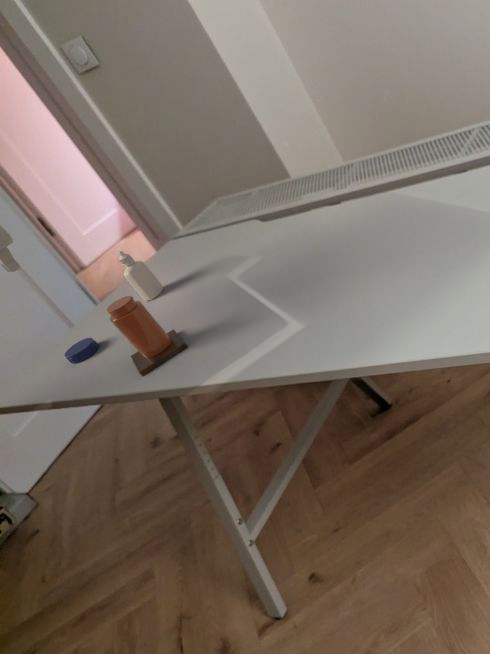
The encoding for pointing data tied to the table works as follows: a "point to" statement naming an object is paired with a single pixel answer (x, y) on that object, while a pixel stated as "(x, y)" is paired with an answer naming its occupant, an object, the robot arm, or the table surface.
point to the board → (159, 355)
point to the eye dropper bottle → (140, 277)
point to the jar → (138, 326)
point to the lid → (81, 350)
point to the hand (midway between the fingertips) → (4, 271)
